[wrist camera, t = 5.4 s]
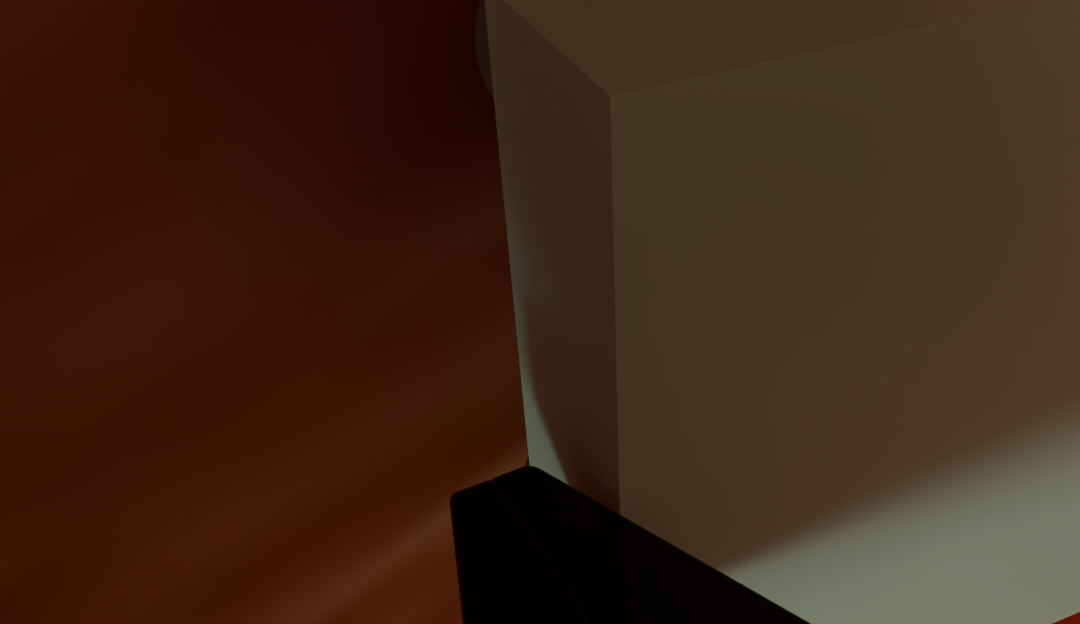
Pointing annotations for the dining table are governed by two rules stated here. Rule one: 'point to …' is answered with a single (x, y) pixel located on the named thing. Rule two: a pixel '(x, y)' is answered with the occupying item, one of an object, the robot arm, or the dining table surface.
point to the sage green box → (806, 288)
